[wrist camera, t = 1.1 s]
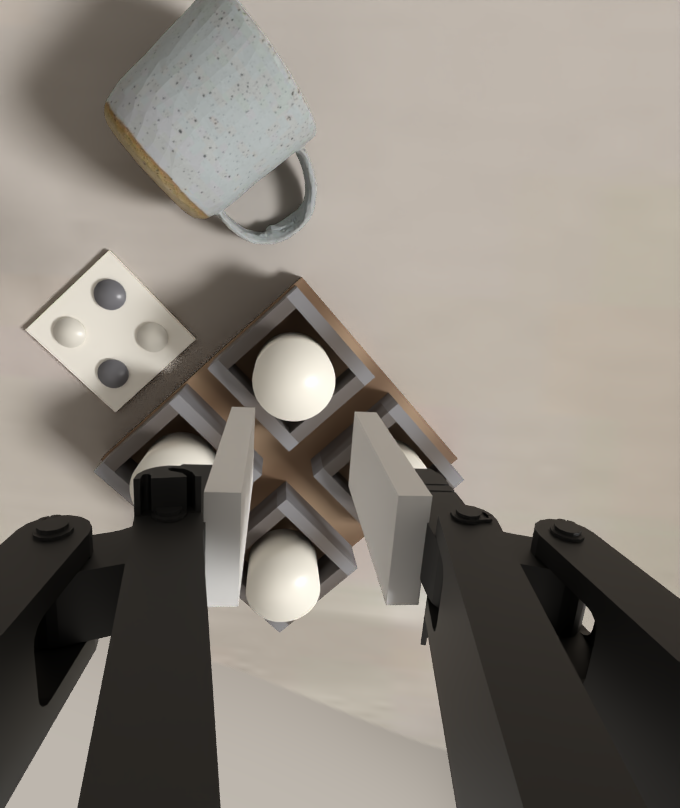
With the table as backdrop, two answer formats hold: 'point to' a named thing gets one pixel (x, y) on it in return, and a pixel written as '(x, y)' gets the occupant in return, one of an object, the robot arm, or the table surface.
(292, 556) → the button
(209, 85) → the ceramic mug
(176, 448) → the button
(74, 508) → the table surface
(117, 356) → the card
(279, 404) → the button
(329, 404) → the button board
